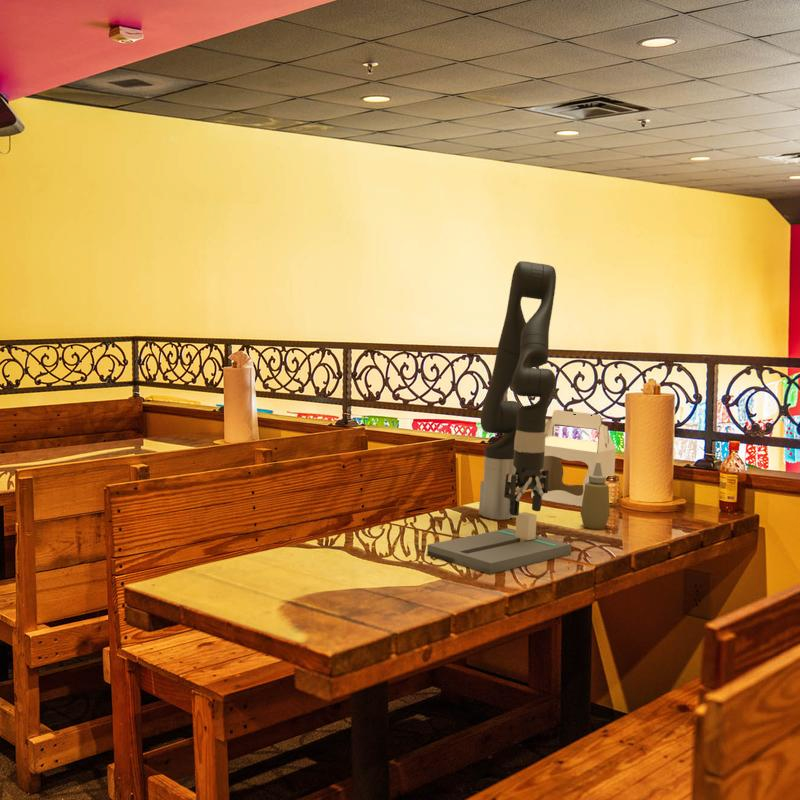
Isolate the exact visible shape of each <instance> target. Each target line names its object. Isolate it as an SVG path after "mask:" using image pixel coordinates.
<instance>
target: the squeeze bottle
mask: <svg viewBox="0 0 800 800" xmlns="http://www.w3.org/2000/svg"><path fill="white" fill-rule="evenodd" d="M605 483H606V476H603V475H602V470H601V463H596V466H595V469H594V473H593V475H589V482H588V483H586V484H585V489H584V495H583V501H582V507H580V508H581V509H580V517H581V521H582V525H583V527H585V528H588V529H592V530H602V529H605V528H606V526H607V524H608V522H609V519H610V516H611V515H610V510H611V509H610V504H609V486H608V485H607V484H605Z"/></svg>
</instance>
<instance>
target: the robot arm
mask: <svg viewBox="0 0 800 800" xmlns="http://www.w3.org/2000/svg"><path fill="white" fill-rule="evenodd" d="M511 277H512V278H511V283H510V289H509V295H508V303H507V307H506V313H505V318H504V322H503V327H502V329H501V333H500V337H499V341H498V346H497V350H496V355H495V361H494V366H493V369H492V374H491V375H492V376H491V380H490V383H489V386H488V388H487V393H486V395H485V399H484V400H483V401H484V402H483V404H482V409H481V412H480V425H481V429H482V431H484V432H485V433H487V434H488V433H489V434H503V436H502V437H501V438H499V440H497V441H496V442H493V443H490V444H488V445H486V447H485V449H484V461H483V463H484V466H483V481H480V483H479V485H480V487H479V488H480V490H479V503H478V504H479V508H478V515H480V516H482V517H484V518H487V519H493V520H511V519H510V518H512V519H514V518H515V517H516V516H518V515H519V513H520V499H521V497H522V495H524V494H525V493H526V491H529V490H531V492H533V494H534V496H533V498H532V501H531V504H532V505H531V510H532V511H534V512H540V511H541V508H542V501H543V500H542V496H543V495H544V493H548V482H549V471H548V470H544V469H542V468H543V467H544V454H545V423H546V419H547V411H548V407H549V404H550V402H551V398H552V396H553V394H554V390H555V387H556V382H557V378H556V375H555V373H554V372H553V371H552V369H549V368H542V367H541V366H543V365H545V364H546V363H547V362H548V360H549V346H550V345H549V337H550V335H549V334H550V333H549V332H550V326H551V320H552V313H553V308H554V300H555V299H554V298H555V294H556V284H557V273H556V269H555V267H554V266H552V265H550V264H546V263H545V264H544V263H538V262H531V261H523V260H522V261H518V262H517V263H516V264H515V267H514V269H513V272H512V276H511ZM523 298H527V299H535V300H540V304H539V307H538V308H537V310H536V311H535V312H534V313H533V315H532V316H531V317H530V318H529V319H528V321H526V319H525V316H524V312H523V310H522V309H523V308H522V304H521V302H522V299H523ZM538 367H541V368H538ZM510 387H511V389H512V390H513V392H514V394H515V395H517V396H519V397H529V398H531V397H532V398H533V397H534V398H539V399H538V401H537V402H535V403H533V404H529V405H523V406H521V405H520V403H519V402H518V401H515V400H503V398H504V396H505V394H506V392H507V390H508V389H509V388H510ZM542 483H543V484H544V488H542ZM513 517H514V518H513Z"/></svg>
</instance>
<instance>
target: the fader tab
mask: <svg viewBox="0 0 800 800" xmlns="http://www.w3.org/2000/svg"><path fill="white" fill-rule="evenodd" d="M537 516H538V515H537V514H534V513H531V512H526V511H522V512H519V515H518V516H515V517H516V518H515V530H516V532H515V537H517V538H520V542H522V541H527V540H531V539H535V537H536V535H537V534H536V533H537V519H538V518H537Z"/></svg>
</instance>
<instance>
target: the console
mask: <svg viewBox="0 0 800 800" xmlns="http://www.w3.org/2000/svg"><path fill="white" fill-rule="evenodd" d="M515 532H516V529H513V528H509V527H507V528H502V529H497V530H493V531H489V532H483V533H478V534H473V535H469V536H463V537H459V538H454V539H448V540H444V541H439V542H433V543H429V544H427V550H426V551H427V552H426V556H429V557H433V558H436V559H440V560H442V561H446V562H450V563H452V564H453V563H454V564H456V565H459V566H462V567H466V568H470V569H472V570H476V571H478V572H482V573H486V574H489V575H493V574H497V573H501V572H505V571H508V570H509V571H510V570H513V569H517V568H521V567H524V566H530V565H533V564H537V563H541V562H545V561H548V560H549V561H550V560H553V559H557V558H561V557H564V556H569V555H571V554H572V553H571V552H572V544H571V543H568V542H564V541H559V540H557V539H552V538H549V537H545V536H540V535H537V534H536V537H535V539H531V540H527V541H522V542H520V538H517V537H515Z"/></svg>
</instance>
